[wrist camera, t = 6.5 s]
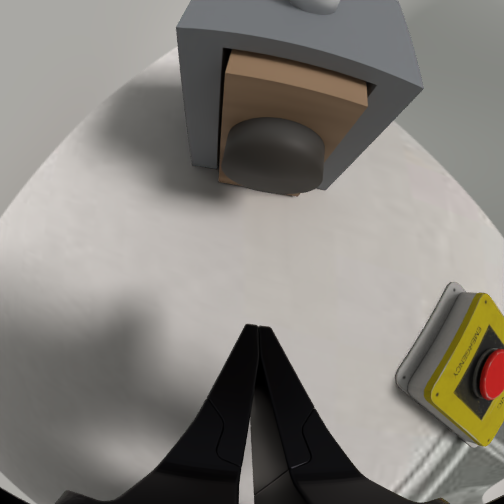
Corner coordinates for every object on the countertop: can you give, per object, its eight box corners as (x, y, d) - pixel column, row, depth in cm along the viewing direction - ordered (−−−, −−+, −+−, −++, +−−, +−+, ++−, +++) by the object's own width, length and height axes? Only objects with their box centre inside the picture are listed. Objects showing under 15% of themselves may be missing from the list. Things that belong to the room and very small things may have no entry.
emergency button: (486, 270, 16) (547, 371, 16) (447, 276, 21) (516, 367, 20) (422, 392, 15) (501, 461, 14) (386, 378, 19) (471, 448, 19)
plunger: (294, 219, 19) (369, 141, 9) (214, 204, 18) (215, 106, 9) (304, 130, 20) (360, 27, 10) (232, 116, 20) (248, -1, 10)
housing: (325, 190, 20) (440, 70, 7) (192, 165, 19) (174, 0, 7) (330, 112, 21) (408, -14, 9) (212, 88, 20) (220, -63, 8)
